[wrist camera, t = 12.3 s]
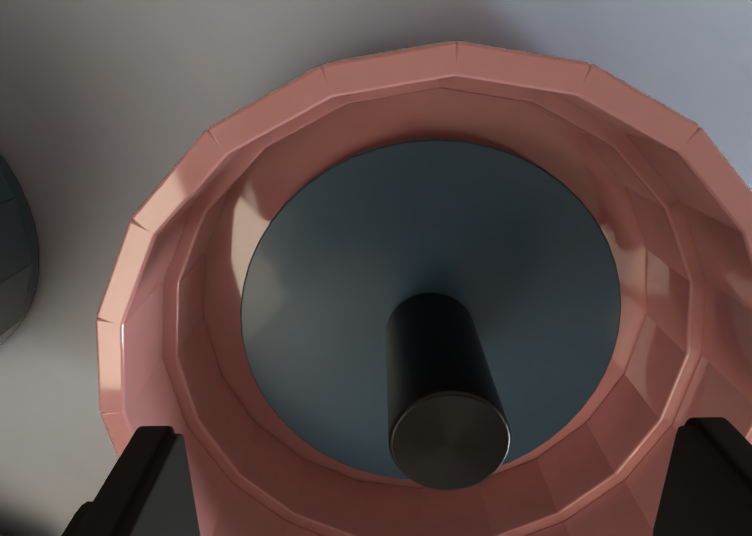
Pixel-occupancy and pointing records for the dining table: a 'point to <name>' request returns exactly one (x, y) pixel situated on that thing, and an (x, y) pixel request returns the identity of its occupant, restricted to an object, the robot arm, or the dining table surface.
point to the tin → (15, 254)
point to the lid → (430, 310)
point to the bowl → (449, 120)
